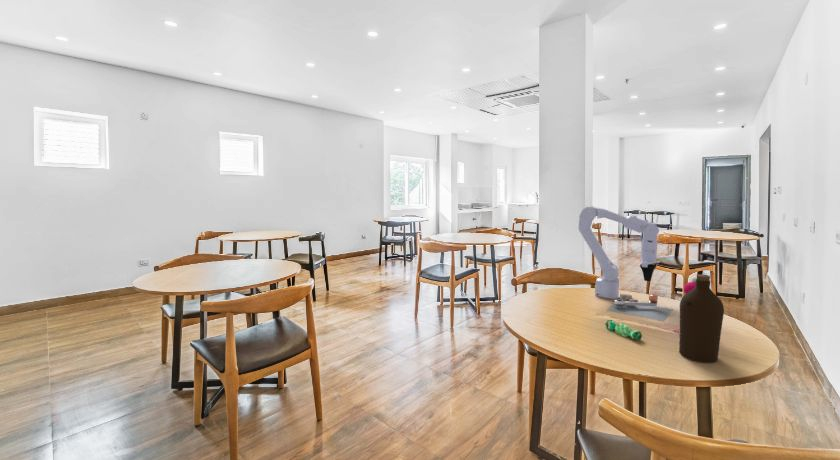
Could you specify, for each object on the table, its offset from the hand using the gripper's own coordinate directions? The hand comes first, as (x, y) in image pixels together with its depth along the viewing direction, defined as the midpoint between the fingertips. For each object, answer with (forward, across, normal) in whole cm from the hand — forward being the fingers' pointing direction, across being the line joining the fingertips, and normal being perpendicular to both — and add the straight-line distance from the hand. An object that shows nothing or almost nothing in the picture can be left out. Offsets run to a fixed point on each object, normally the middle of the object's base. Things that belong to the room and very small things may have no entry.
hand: (647, 280), depth 165 cm
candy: (+10, -45, -2) cm, 46 cm away
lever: (+7, -15, +1) cm, 17 cm away
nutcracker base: (+10, -16, -1) cm, 19 cm away
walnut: (+9, -12, +4) cm, 15 cm away
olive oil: (+10, -49, -24) cm, 55 cm away
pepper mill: (+10, -30, -20) cm, 37 cm away
